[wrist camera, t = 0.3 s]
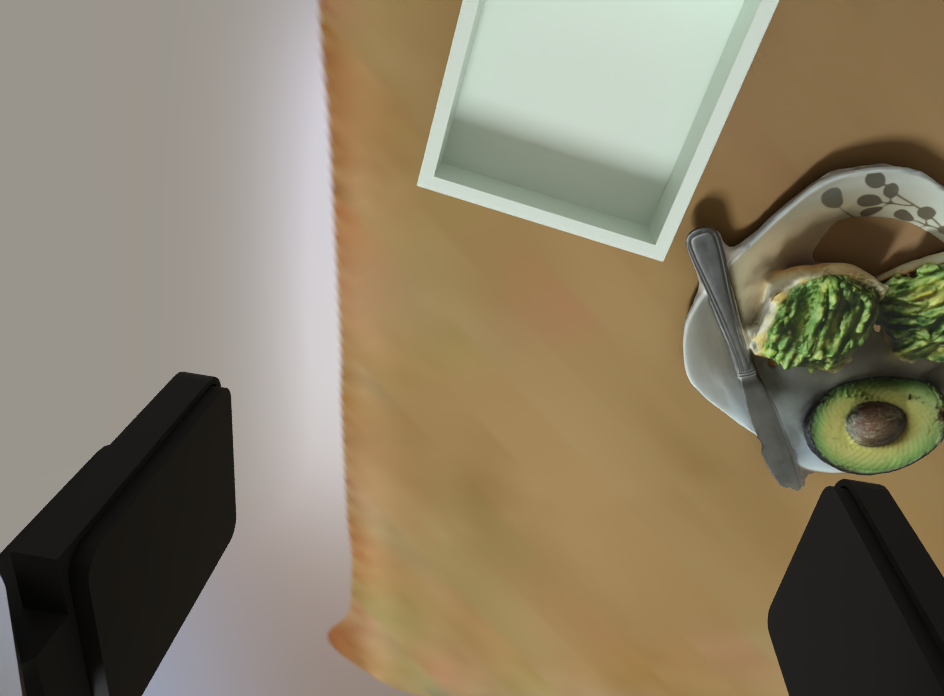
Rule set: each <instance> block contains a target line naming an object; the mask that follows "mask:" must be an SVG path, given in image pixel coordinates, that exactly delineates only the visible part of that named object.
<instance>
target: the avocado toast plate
mask: <svg viewBox="0 0 944 696" xmlns="http://www.w3.org/2000/svg"><path fill="white" fill-rule="evenodd" d="M863 216H874V217H889V218H895V219H899V220H902V221H906V222H910V223H913V224H915V225H917V226H919V227H921V228H923V229H924V230H926V231H928V232H929V233H931V234H933V235H934V236H935V237H937V238H938V239H940V240H941V241H942V242H943V243H944V186H942V185H941V184H939V183H938V182H936V181H935V180H933V179H932V178H931V177H929V176H928V175H926V174H925V173H923V172H922V171H920V170H915V169H911V168H909V167H900V166H892V165H889V164H883V163H879V164H874V165H865V166H857V167H853V168H846V169H837V170H834V171H831V172H828V173H827V174H825V175H824V176H822V177H821V178H819V179H818V180H816V181H814V182H813V183H811V184H810V185H809V186H808V187H806V188H805V189H804V190H803V191H801V192H800V193H799V194H797V195H796V196H795V197H794V198H792V199H791V200H790V201H789V202H787V203H786V204H785V205H784V206H783V207H781V208H780V209H779V210H778V211H777V212H776V213H774V214H773V215H772V216H771V217H770V218H768V219H767V220H766V221H765V223H764V224H763V225H762V226H761V227H760V228H759V229H758V230H757V231H755V232H754V233H753V234H752V235H750V236H749V237H747V238H746V239H745V240H744V241H742V242H741V243H740V244H738V245H736V246H733V247H729V246H727V245H726V244H725V243H724V242H723V240H722V237H721V234H720V233H719V232H718V231H717V230H716V229H714V228H713V227H700V228H697V229H694V230H693V231H691V232H690V233H689V234H688V236H687V239H686V247H687V250H688V253H689V255H690V258H691V260H692V263H693V265H694V267H695V270H696V272H697V276H698V280H699V289H698V292H697V294H696V296H695V299H694V302H693V305H692V306H691V307H690V310H689V312H688V314H687V317H686V319H685V321H684V322H685V323H684V335H683V355H684V365H685V369H686V373H687V376H688V378H689V380H690V382H691V383H692V385H693V386H694V387H696V389H697V390H698V391H699V392H700V393H701V394H702V395H703V396H704V397H705V398H706V399H707V400H709V401H710V402H711V403H712V404H713V405H715V406H716V407H718V408H719V409H721V410H722V411H723V412H725V413H726V414H727V415H728V416H730V417H731V418H733V419H734V420H735V421H736V422H738V423H739V424H740V425H742V426H743V427H745V428H746V429H748V430H750V431H751V432H753V433H755V435H756V436H757V438H758V439H759V440H760V441H761V443H762V452H761V453H762V455H763V457H764V460H765V462H766V464H767V466H768V468H769V469H770V471H771V473H772V475H773V476H774V478H775V479H776V481H777V482H778V483H779V485H780V486H783V487H786V488H792V489H794V490H797V491H798V490H800V489H801V488H802V487H803V486H804V485H805V478H806V477H807V476H808V474H810V473H814V472H829V473H843V472H846V473H852V474H857V475H874V474H880V473H889V472H892V471H896V470H899V469H901V468H904V467H906V466H909V465H911V464H913V463H915V462H916V461H918V460H920V459H921V458H923V457H924V456H926V455H928V454H929V453H930V452H931V451H933V450H934V449H935V447H937V446H938V445H939V444H940V443H941V442H942V440H943V438H944V252H941V253H937V254H933V255H928V256H925V257H923V258H920V259H917V260H912V261H910V262H907V263H904V264H902V265H900V266H898V267H896V268H893V269H891V270H889V271H887V272H884V273H882V274H879V275H876V276H872V275H870V274H869V273H867V272H865V271H864V270H862V269H860V268H859V267H857V266H854V265H852V264H848V263H829V262H827V263H821V262H816V261H815V260H814V258H813V256H812V255H813V251H814V249H815V248H816V246H817V245H818V244H819V242H820V240H821V238H822V237H823V236H824V235H825V233H826V232H827V231H828V230H829V229H830V228H831V226H832V225H833V224H834V223H835V222H837V221H839V220H842V219H847V218H853V217H863ZM874 324H876V325H880V326H881V330H880V332H876V331H875V330H874V328H873V326H874ZM769 358H770V359H773V360H775V361H776V363H777V364H778V366H776V367H773V368H771V367H769V365H768V364H767V363H768V359H769Z"/></svg>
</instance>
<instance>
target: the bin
mask: <svg viewBox="0 0 944 696" xmlns="http://www.w3.org/2000/svg"><path fill="white" fill-rule="evenodd" d="M778 2H779V0H463V2H462V6H461V10H460V14H459V18H458V22H457V26H456V30H455V34H454V38H453V42H452V46H451V50H450V54H449V58H448V62H447V66H446V70H445V75H444V79H443V83H442V87H441V91H440V95H439V99H438V103H437V107H436V111H435V115H434V119H433V123H432V127H431V131H430V135H429V139H428V143H427V147H426V151H425V155H424V159H423V163H422V167H421V171H420V175H419V179H418V183H417V186H420V187H423V188H426V189H429V190H433V191H436V192H439V193H442V194H446V195H449V196H452V197H455V198H459V199H462V200H465V201H468V202H471V203H475V204H478V205H481V206H484V207H488V208H491V209H494V210H497V211H501V212H504V213H507V214H510V215H514V216H517V217H520V218H523V219H526V220H530V221H533V222H536V223H539V224H543V225H546V226H549V227H552V228H556V229H559V230H562V231H565V232H568V233H572V234H575V235H578V236H581V237H585V238H588V239H591V240H594V241H598V242H601V243H604V244H607V245H610V246H614V247H617V248H620V249H623V250H627V251H630V252H633V253H636V254H640V255H643V256H646V257H649V258H652V259H656V260H659V261H662V262H663V261H664V258H665V256H666V254H667V252H668V249H669V247H670V245H671V243H672V240H673V238H674V236H675V234H676V231H677V229H678V227H679V225H680V222H681V220H682V218H683V216H684V213H685V211H686V209H687V207H688V204H689V202H690V200H691V198H692V195H693V193H694V191H695V189H696V186H697V184H698V182H699V180H700V177H701V175H702V173H703V171H704V168H705V166H706V164H707V162H708V159H709V157H710V155H711V153H712V150H713V148H714V146H715V144H716V141H717V139H718V137H719V135H720V132H721V130H722V128H723V126H724V123H725V121H726V119H727V117H728V114H729V112H730V110H731V108H732V105H733V103H734V101H735V99H736V96H737V94H738V92H739V90H740V87H741V85H742V83H743V81H744V78H745V76H746V74H747V72H748V69H749V67H750V65H751V63H752V60H753V58H754V56H755V54H756V51H757V49H758V47H759V45H760V42H761V40H762V38H763V36H764V33H765V31H766V29H767V27H768V24H769V22H770V20H771V18H772V15H773V13H774V11H775V9H776V6H777V4H778Z"/></svg>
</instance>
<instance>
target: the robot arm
mask: <svg viewBox="0 0 944 696" xmlns="http://www.w3.org/2000/svg"><path fill="white" fill-rule="evenodd" d="M232 434H233V433H232V410H231V395H230V391H229V389H228V388H223V387H221V384H220V381H219V379H218V378H216V377H212V376H205V375H200V374H193V373H187V372H179V373H178V374H176V375H175V376H174V377H173V378H172V379H171V380H170V381H169V383H168V384H167V385H166V386H165V387H164V388H163V389H162V390H161V391H160V392H159V393H158V394H157V395H156V396H155V397H154V399H153V400H152V401H151V402H150V403H149V404H148V405H147V406H146V407H145V408H144V409H143V410H142V411H141V412H140V413H139V414H138V415H137V417H136V418H135V419H134V420H133V421H132V422H131V423H130V424H129V425H128V426H127V427H126V428H125V429H124V430H123V432H122V433H121V434H120V435H119V436H118V437H117V438H116V439H115V440H114V441H113V442H112V443H111V444H110V445H107V446H104V447H103V448H102V449H100V450H99V451H98V452H97V453H96V454H95V455H94V456H93V457H92V458H91V459H90V460H89V461H88V462H87V463H86V464H85V465H84V466H83V468H81V469H80V471H79V472H78V473H77V474H76V475H75V476H74V477H73V478H72V479H71V480H70V481H69V482H68V483H67V484H66V485H65V486H64V487H63V489H62V490H60V491H59V492H58V494H57V495H56V496H55V497H54V498H53V499H52V500H51V501H50V502H49V503H48V504H47V505H46V506H45V507H44V508H43V510H41V511H40V512H39V514H37V516H36V517H35V518H34V519H33V520H32V521H31V522H30V523H29V524H28V525H27V526H26V527H25V528H24V529H23V530H22V531H21V532H20V533H19V534H18V536H16V538H15V539H14V540H13V541H12V542H11V543H10V544H9V545H8V546H7V547H6V548H5V549H4V550H3V551H2V552H1V553H0V696H142V694H143V693H144V691H145V689H146V687H147V686H148V684H149V682H150V680H151V679H152V677H153V675H154V673H155V671H156V670H157V668H158V666H159V664H160V663H161V661H162V659H163V657H164V656H165V654H166V652H167V651H168V649H169V647H170V645H171V643H172V642H173V640H174V638H175V637H176V635H177V633H178V631H179V630H180V628H181V626H182V624H183V623H184V621H185V619H186V617H187V615H188V614H189V612H190V610H191V608H192V607H193V605H194V603H195V602H196V600H197V598H198V596H199V594H200V593H201V591H202V589H203V588H204V586H205V584H206V582H207V580H208V579H209V577H210V575H211V574H212V572H213V570H214V568H215V567H216V565H217V563H218V561H219V559H220V558H221V556H222V554H223V553H224V551H225V549H226V547H227V545H228V544H229V542H230V540H231V538H232V535H233V533H234V528H235V524H236V503H235V482H234V481H235V479H234V457H233V435H232ZM768 630H769V634H770V637H771V640H772V643H773V646H774V650H775V653H776V656H777V659H778V662H779V665H780V668H781V671H782V675H783V678H784V681H785V684H786V687H787V690H788V693H789V696H944V577H943V576H942V574H941V573H940V571H939V569H938V568H937V566H936V565H935V563H934V562H933V560H932V558H931V557H930V555H929V554H928V552H927V551H926V549H925V547H924V546H923V544H922V543H921V541H920V540H919V538H918V537H917V535H916V533H915V532H914V530H913V529H912V527H911V526H910V524H909V522H908V521H907V519H906V518H905V516H904V515H903V513H902V511H901V510H900V508H899V507H898V505H897V504H896V502H895V500H894V499H893V497H892V496H891V494H890V493H889V491H888V490H887V489H886V488H885V487H884V486H882V485H879V484H873V483H867V482H861V481H855V480H848V479H842V480H840V481H838V482H837V483H836V485H835V486H834V487H833V486H828V487H826V488H825V489H824V490H823V492H822V493H821V496H820V498H819V500H818V502H817V504H816V507H815V509H814V511H813V513H812V515H811V518H810V520H809V522H808V524H807V526H806V529H805V531H804V533H803V535H802V538H801V540H800V542H799V544H798V546H797V549H796V551H795V553H794V555H793V557H792V560H791V562H790V564H789V566H788V568H787V571H786V573H785V575H784V577H783V579H782V582H781V584H780V586H779V588H778V591H777V593H776V595H775V597H774V599H773V602H772V604H771V606H770V609H769V613H768Z"/></svg>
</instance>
